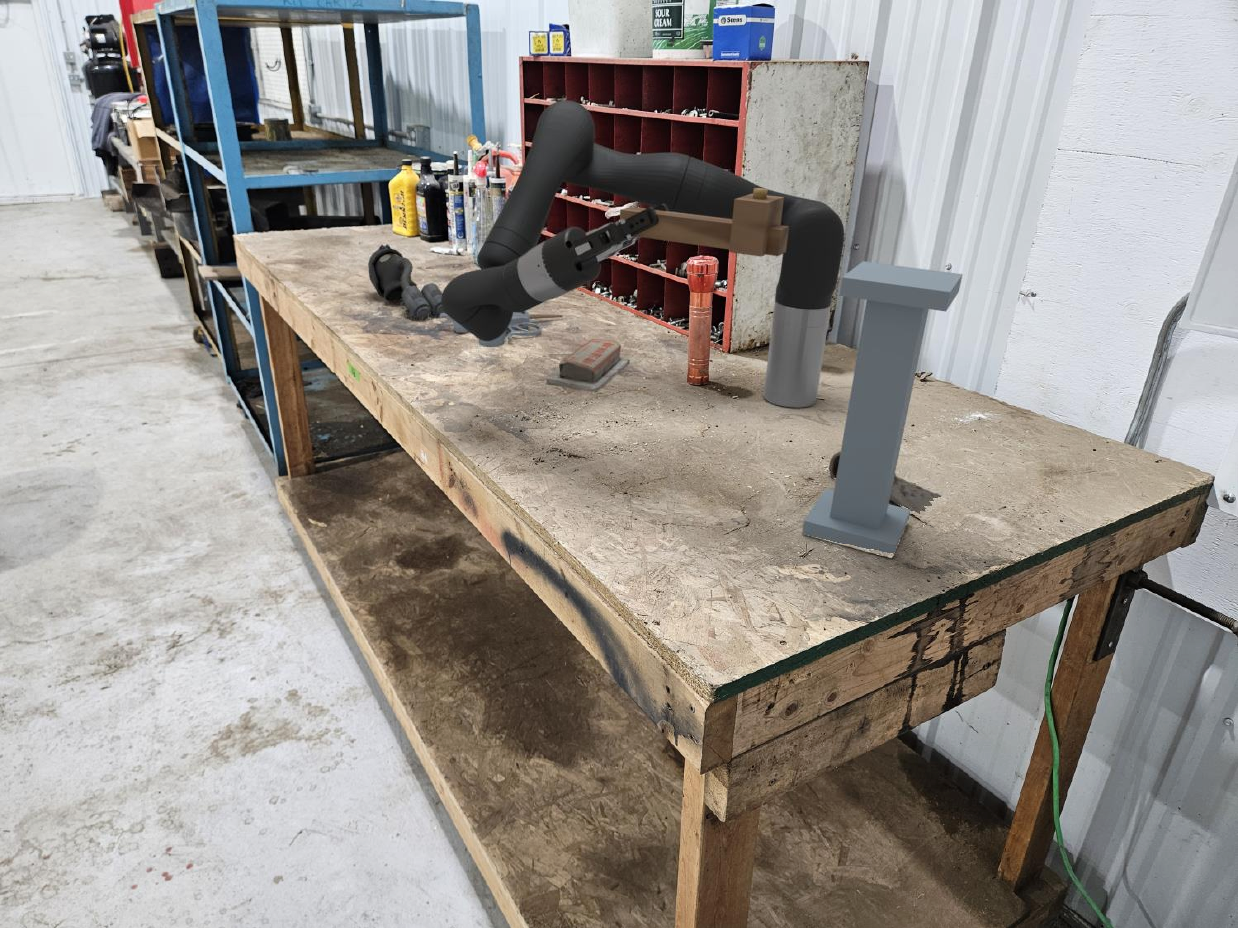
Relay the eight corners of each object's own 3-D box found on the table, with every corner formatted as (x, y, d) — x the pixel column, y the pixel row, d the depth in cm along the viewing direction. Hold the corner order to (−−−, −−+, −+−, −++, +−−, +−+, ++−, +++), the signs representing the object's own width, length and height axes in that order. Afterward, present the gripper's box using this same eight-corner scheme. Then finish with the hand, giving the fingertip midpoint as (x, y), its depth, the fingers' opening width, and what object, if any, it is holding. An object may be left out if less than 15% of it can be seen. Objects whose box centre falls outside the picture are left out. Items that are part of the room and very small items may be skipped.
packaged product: (583, 334, 159) (631, 341, 156) (582, 357, 161) (630, 364, 158) (545, 360, 143) (597, 369, 140) (545, 386, 145) (596, 395, 142)
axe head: (997, 504, 106) (959, 527, 100) (982, 535, 109) (945, 559, 103) (868, 432, 118) (828, 448, 112) (858, 461, 121) (818, 478, 115)
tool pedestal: (823, 501, 108) (863, 261, 94) (907, 523, 104) (962, 274, 90) (802, 534, 100) (842, 277, 86) (892, 559, 96) (950, 292, 82)
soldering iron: (461, 355, 161) (437, 327, 173) (586, 350, 174) (556, 324, 186) (463, 327, 158) (438, 300, 170) (589, 324, 172) (558, 299, 183)
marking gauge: (635, 229, 106) (637, 173, 103) (789, 250, 98) (797, 189, 95) (613, 235, 101) (615, 177, 98) (773, 258, 93) (781, 195, 90)
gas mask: (407, 354, 184) (359, 280, 195) (443, 347, 190) (395, 276, 200) (416, 303, 174) (366, 228, 185) (454, 298, 179) (403, 225, 190)
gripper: (517, 248, 104) (623, 189, 94) (573, 232, 115) (673, 178, 105) (542, 302, 105) (649, 250, 96) (595, 281, 117) (695, 233, 107)
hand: (661, 213), depth 101 cm, fingers closed on marking gauge, 3 cm apart
